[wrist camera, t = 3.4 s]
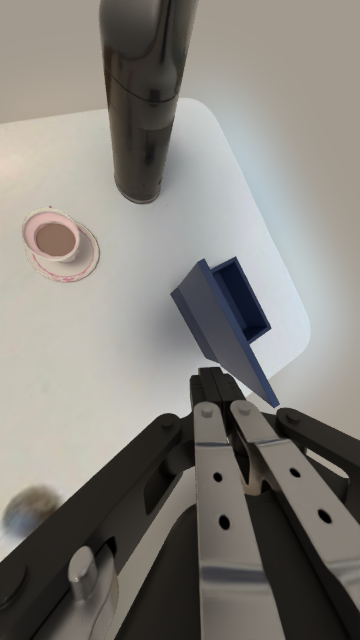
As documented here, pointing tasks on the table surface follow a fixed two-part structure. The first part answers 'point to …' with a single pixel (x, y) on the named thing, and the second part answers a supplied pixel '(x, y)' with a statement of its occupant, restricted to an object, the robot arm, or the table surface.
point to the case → (238, 301)
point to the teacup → (59, 245)
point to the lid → (224, 330)
